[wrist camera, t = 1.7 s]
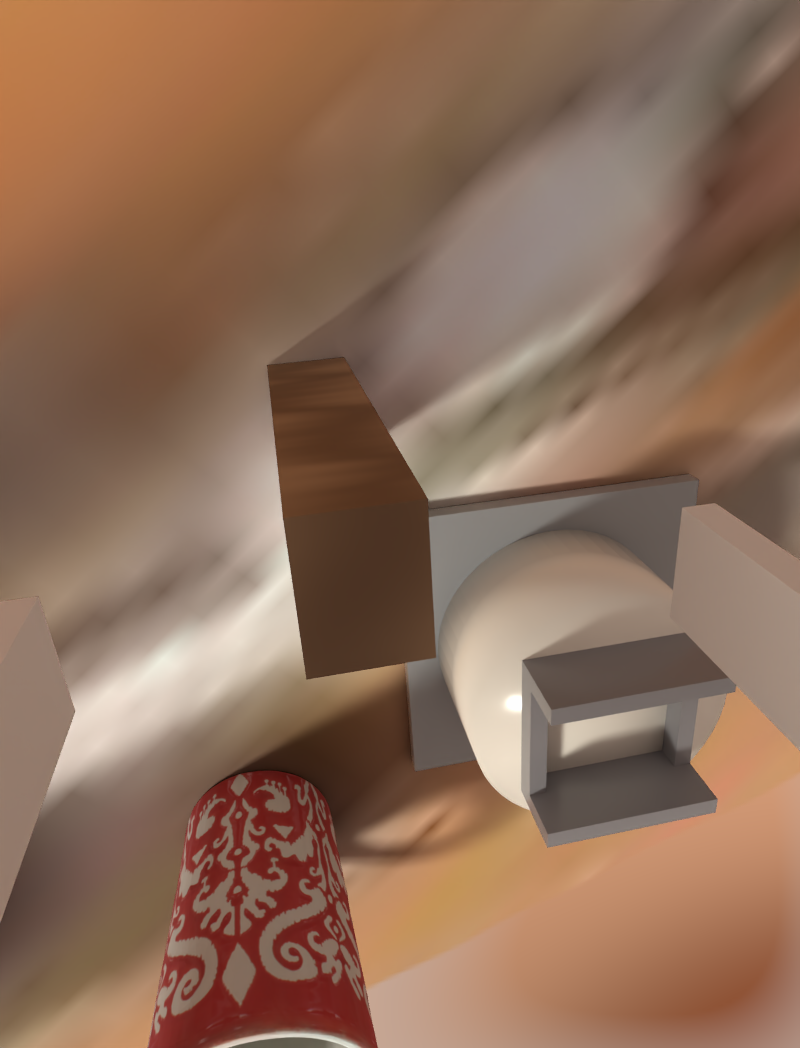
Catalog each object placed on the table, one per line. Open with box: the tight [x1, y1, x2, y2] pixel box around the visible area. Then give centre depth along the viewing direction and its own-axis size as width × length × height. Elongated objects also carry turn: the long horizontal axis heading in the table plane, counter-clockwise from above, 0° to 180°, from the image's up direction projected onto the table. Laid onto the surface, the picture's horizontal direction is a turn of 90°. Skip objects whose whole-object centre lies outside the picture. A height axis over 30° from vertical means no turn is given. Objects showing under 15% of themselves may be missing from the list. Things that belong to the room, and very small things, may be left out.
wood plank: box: [267, 357, 436, 679], centre depth 22 cm, size 3×4×15 cm
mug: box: [148, 771, 378, 1048], centre depth 32 cm, size 13×9×14 cm
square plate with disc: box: [405, 474, 736, 848], centre depth 31 cm, size 14×14×10 cm
